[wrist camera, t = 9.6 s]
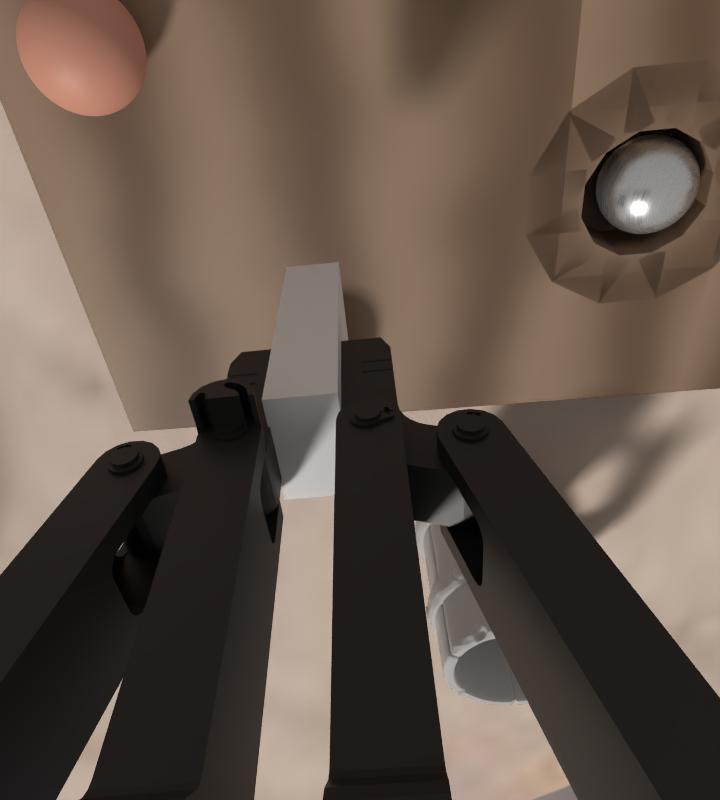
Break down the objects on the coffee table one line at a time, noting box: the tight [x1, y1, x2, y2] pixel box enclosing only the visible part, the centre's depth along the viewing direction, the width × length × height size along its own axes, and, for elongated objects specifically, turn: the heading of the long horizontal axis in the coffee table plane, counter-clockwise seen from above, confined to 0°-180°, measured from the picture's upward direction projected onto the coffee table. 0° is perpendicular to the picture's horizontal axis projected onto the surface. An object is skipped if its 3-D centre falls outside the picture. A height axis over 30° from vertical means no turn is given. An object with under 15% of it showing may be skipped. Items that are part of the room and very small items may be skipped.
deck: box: [0, 0, 720, 431], centre depth 24 cm, size 30×18×2 cm, turn 95°
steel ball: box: [596, 134, 700, 234], centre depth 23 cm, size 4×4×4 cm
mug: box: [415, 521, 529, 706], centre depth 31 cm, size 8×12×12 cm, turn 43°
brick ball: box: [16, 0, 147, 116], centre depth 18 cm, size 4×4×4 cm
